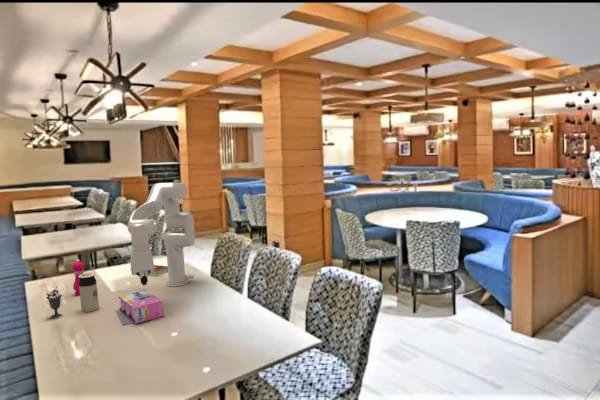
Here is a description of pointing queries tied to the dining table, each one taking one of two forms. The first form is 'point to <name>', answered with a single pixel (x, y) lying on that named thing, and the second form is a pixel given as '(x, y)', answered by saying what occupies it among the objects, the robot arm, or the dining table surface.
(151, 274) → the hardcover book
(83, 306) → the travel mug
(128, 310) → the gum box
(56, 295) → the sundae
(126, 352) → the dining table surface
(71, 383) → the dining table surface
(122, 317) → the rubber mat
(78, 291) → the pepper mill
